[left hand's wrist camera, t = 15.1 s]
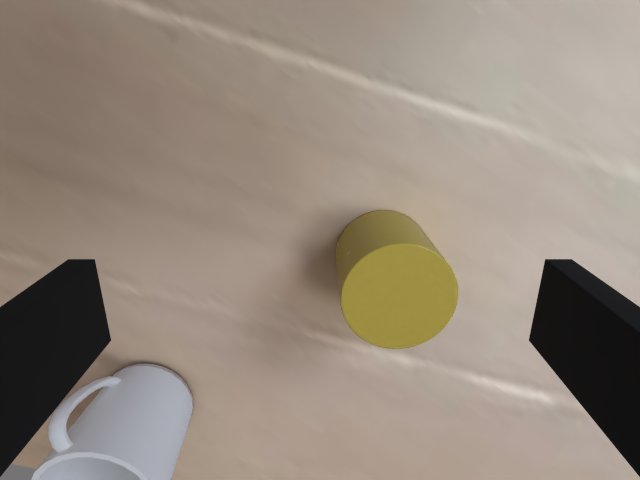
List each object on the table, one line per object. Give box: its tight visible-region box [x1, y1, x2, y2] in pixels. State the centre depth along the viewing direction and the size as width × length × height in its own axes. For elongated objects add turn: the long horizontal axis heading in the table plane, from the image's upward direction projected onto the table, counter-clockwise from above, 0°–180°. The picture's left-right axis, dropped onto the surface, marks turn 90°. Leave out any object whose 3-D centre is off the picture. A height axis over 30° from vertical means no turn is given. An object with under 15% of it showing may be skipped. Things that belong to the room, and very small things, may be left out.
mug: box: [31, 364, 194, 480], centre depth 34 cm, size 11×9×10 cm
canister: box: [336, 210, 458, 349], centre depth 31 cm, size 8×8×8 cm
